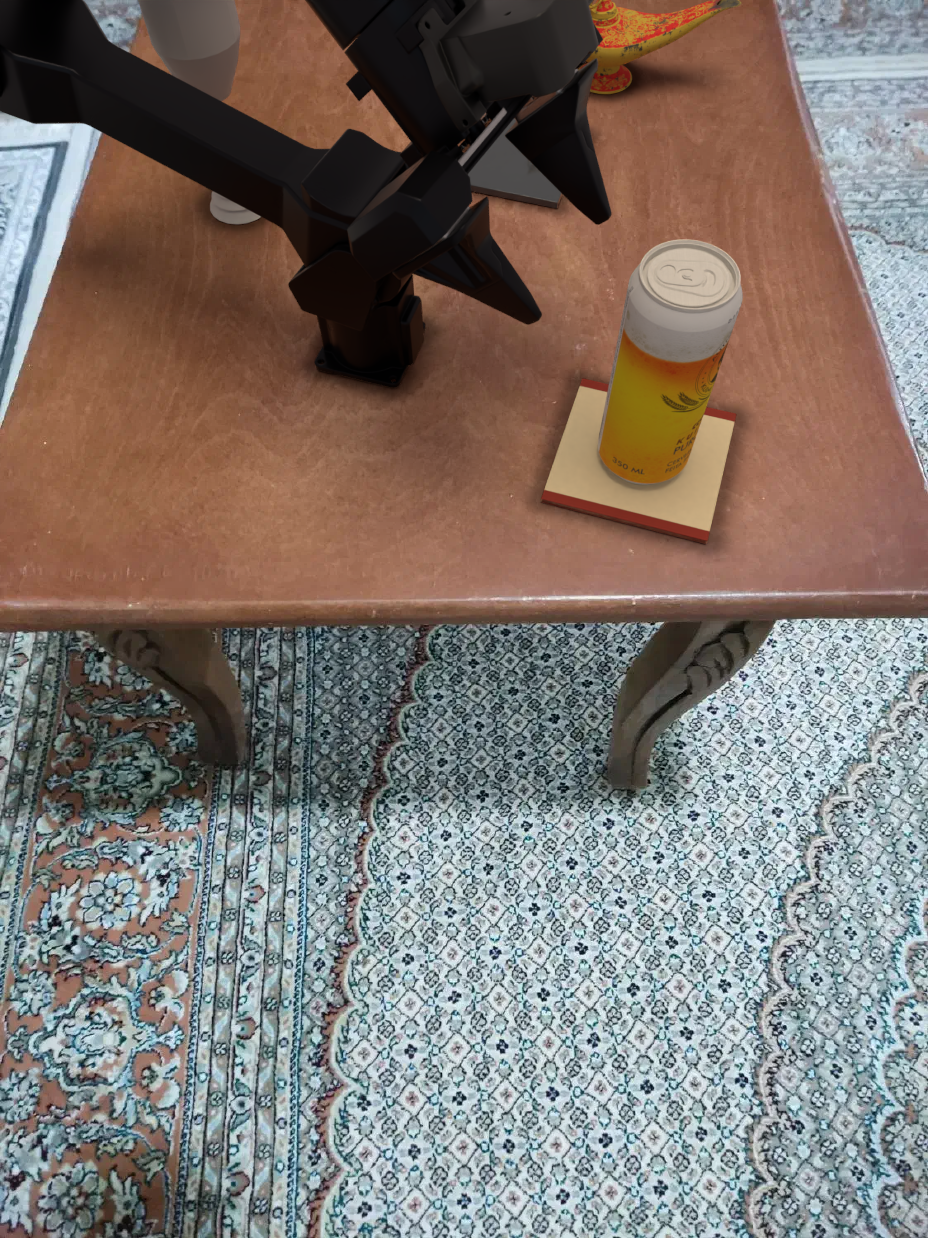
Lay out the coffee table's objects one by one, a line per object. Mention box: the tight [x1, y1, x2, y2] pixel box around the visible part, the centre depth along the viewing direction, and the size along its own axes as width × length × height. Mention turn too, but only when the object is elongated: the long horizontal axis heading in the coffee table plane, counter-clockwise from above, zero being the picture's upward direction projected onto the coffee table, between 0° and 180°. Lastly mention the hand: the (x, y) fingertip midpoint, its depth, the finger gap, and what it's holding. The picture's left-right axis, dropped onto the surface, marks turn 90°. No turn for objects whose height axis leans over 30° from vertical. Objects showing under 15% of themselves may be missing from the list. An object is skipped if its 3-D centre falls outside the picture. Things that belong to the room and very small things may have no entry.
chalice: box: [137, 0, 262, 225], centre depth 65 cm, size 7×7×18 cm
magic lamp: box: [577, 0, 742, 95], centre depth 75 cm, size 7×18×11 cm, turn 85°
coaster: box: [468, 118, 564, 209], centre depth 75 cm, size 10×10×1 cm
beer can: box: [598, 238, 744, 485], centre depth 53 cm, size 6×6×15 cm
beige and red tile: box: [540, 378, 737, 545], centre depth 60 cm, size 11×11×1 cm
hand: (571, 268), depth 50 cm, fingers open, 9 cm apart
